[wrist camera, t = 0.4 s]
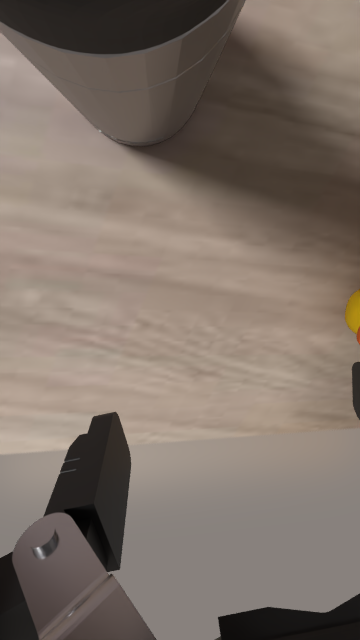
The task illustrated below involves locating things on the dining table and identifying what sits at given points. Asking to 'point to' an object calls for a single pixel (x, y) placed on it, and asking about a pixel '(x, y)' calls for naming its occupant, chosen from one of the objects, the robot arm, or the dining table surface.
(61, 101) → the dining table surface
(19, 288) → the dining table surface
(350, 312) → the duckling
